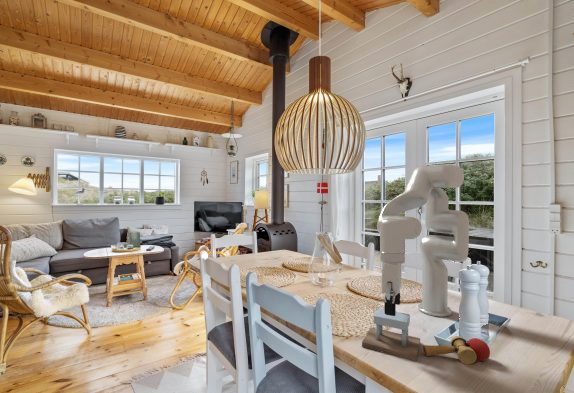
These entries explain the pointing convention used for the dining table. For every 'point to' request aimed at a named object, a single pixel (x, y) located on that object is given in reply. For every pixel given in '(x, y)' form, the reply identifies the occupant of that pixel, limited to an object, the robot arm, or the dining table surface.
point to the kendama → (461, 349)
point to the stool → (392, 323)
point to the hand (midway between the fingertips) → (392, 309)
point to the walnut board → (392, 344)
